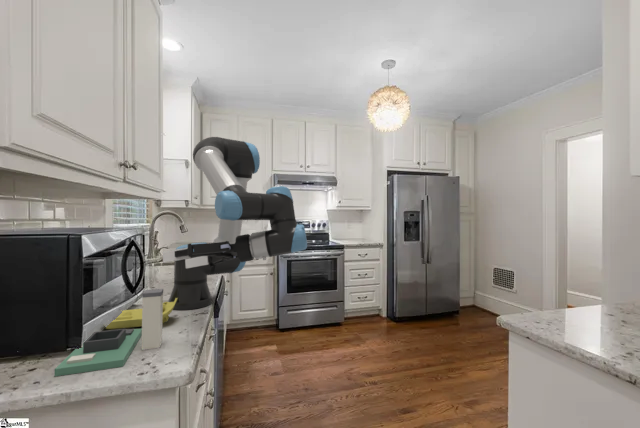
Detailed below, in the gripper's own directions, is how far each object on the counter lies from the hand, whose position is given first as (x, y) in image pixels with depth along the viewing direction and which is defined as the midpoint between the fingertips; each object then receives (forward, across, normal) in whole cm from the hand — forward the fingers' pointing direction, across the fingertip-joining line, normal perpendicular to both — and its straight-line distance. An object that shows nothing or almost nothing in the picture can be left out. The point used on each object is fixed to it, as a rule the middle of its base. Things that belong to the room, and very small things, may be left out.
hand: (175, 260), depth 80 cm
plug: (+7, +1, -21) cm, 22 cm away
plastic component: (+19, +17, -14) cm, 29 cm away
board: (+17, -2, -20) cm, 26 cm away
